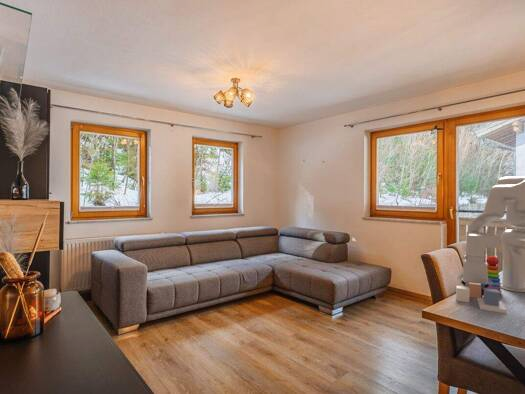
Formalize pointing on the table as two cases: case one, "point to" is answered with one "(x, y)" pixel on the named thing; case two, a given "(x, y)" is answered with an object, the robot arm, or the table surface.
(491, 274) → the stacking toy
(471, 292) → the terracotta brick
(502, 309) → the tower base
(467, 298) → the cream brick
